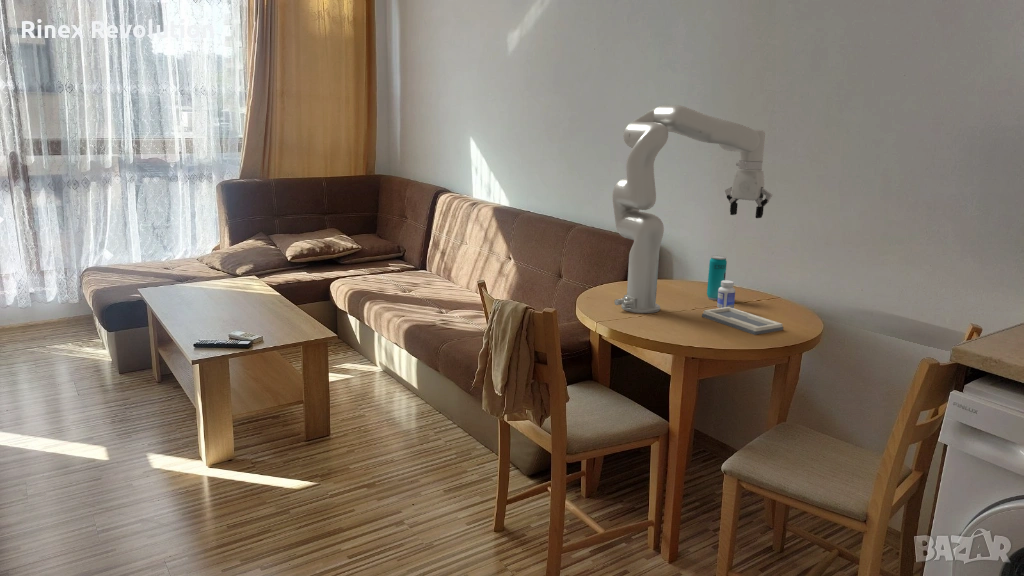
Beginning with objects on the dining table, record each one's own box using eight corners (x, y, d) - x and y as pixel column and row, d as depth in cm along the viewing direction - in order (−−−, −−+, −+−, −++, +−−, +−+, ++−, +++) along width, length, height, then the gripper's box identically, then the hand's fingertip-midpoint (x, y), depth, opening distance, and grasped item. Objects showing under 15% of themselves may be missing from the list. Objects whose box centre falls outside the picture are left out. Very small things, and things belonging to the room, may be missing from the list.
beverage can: (725, 301, 259) (729, 258, 256) (708, 300, 259) (712, 258, 256) (721, 297, 265) (724, 255, 261) (704, 296, 265) (708, 255, 261)
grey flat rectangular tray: (754, 334, 220) (755, 328, 219) (702, 316, 238) (702, 310, 238) (783, 329, 225) (783, 323, 225) (729, 312, 244) (730, 306, 244)
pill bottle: (734, 309, 249) (736, 280, 246) (733, 313, 244) (735, 283, 241) (717, 307, 250) (719, 279, 248) (716, 311, 245) (718, 282, 243)
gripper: (722, 164, 258) (718, 214, 262) (768, 168, 245) (763, 220, 249) (733, 164, 263) (729, 212, 267) (779, 167, 250) (774, 218, 254)
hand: (745, 216), depth 258 cm, fingers open, 9 cm apart
